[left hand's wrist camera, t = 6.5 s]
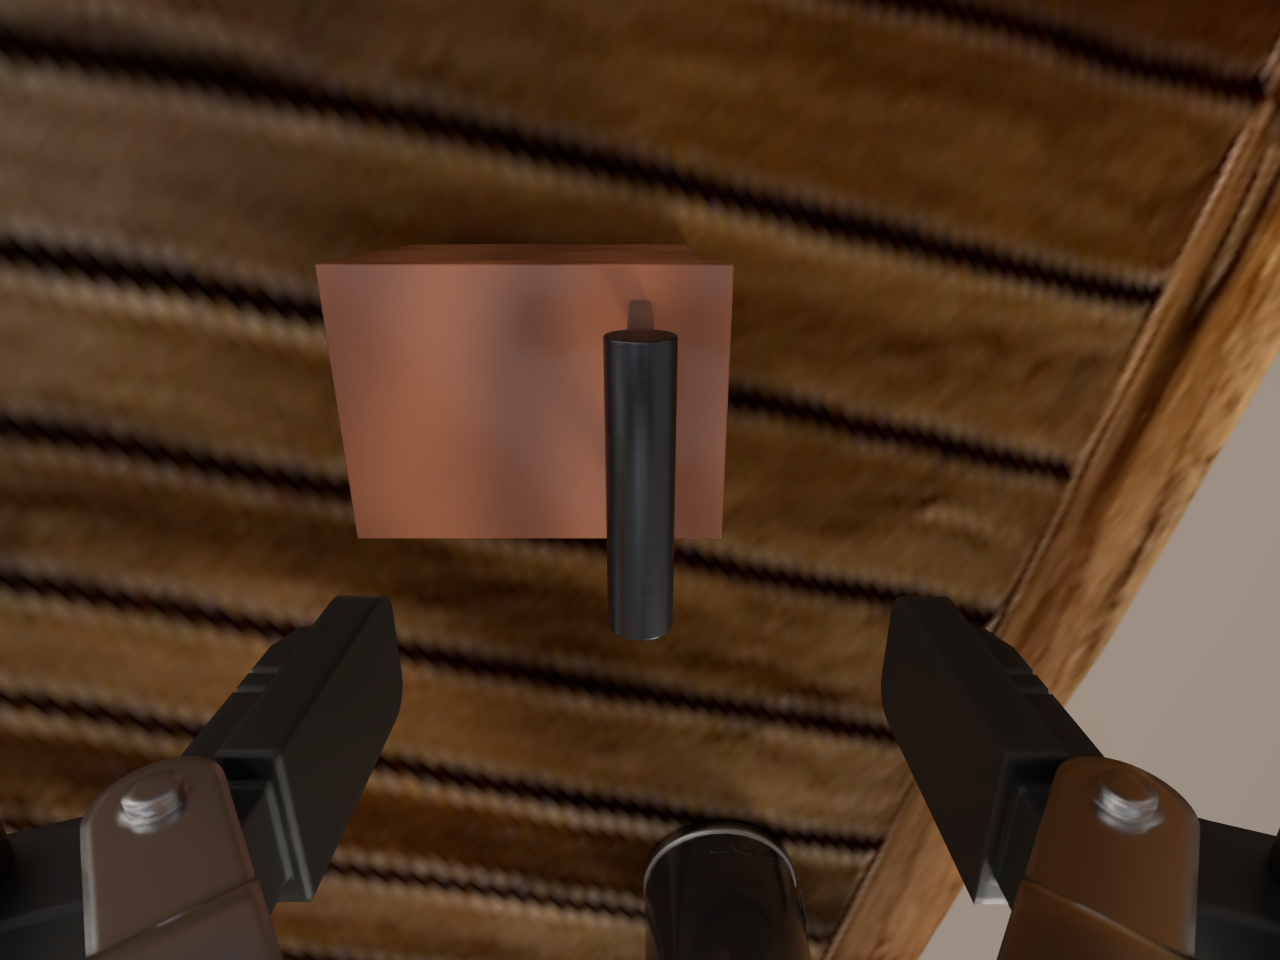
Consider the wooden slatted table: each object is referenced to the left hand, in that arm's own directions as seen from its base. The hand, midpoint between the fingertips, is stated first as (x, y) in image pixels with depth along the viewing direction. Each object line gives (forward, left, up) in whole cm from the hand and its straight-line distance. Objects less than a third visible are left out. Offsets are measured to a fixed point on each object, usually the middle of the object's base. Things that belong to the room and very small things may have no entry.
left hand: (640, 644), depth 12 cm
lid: (-1, +3, -15) cm, 15 cm away
